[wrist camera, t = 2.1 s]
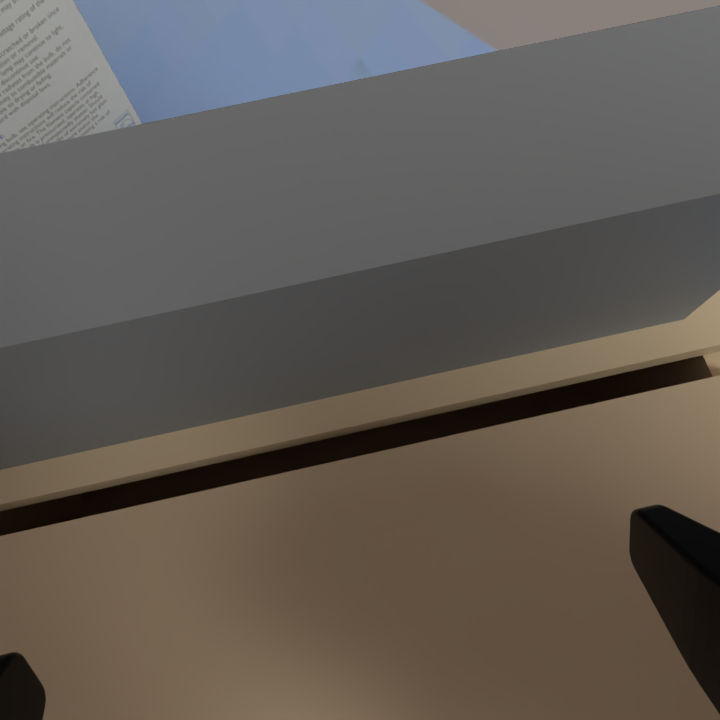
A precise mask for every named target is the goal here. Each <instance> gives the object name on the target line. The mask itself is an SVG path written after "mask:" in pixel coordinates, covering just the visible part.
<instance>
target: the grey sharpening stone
mask: <svg viewBox="0 0 720 720" xmlns="http://www.w3.org/2000/svg"><path fill="white" fill-rule="evenodd" d="M715 352H720V6H715V7H710V8H705V9H701V10H695V11H691V12H685V13H681V14H676V15H671V16H666V17H661V18H656V19H651V20H646V21H642V22H637V23H632V24H627V25H622V26H617V27H612V28H607V29H603V30H598V31H593V32H588V33H583V34H578V35H574V36H569V37H564V38H559V39H554V40H550V41H544V42H539V43H534V44H530V45H525V46H520V47H515V48H510V49H506V50H500V51H495V52H491V53H486V54H481V55H476V56H471V57H466V58H461V59H456V60H452V61H447V62H442V63H437V64H432V65H427V66H422V67H418V68H413V69H408V70H403V71H398V72H393V73H388V74H383V75H379V76H374V77H369V78H364V79H359V80H354V81H349V82H344V83H340V84H335V85H330V86H325V87H320V88H315V89H310V90H306V91H301V92H296V93H291V94H286V95H281V96H276V97H271V98H267V99H262V100H257V101H252V102H247V103H242V104H237V105H232V106H228V107H223V108H218V109H213V110H208V111H203V112H198V113H194V114H189V115H184V116H179V117H174V118H169V119H164V120H159V121H155V122H150V123H145V124H140V125H135V126H130V127H125V128H120V129H116V130H111V131H106V132H101V133H96V134H91V135H86V136H81V137H77V138H72V139H67V140H62V141H57V142H52V143H47V144H43V145H38V146H33V147H28V148H23V149H18V150H13V151H8V152H4V153H0V511H4V510H8V509H13V508H17V507H22V506H26V505H31V504H35V503H40V502H44V501H49V500H53V499H58V498H62V497H67V496H71V495H76V494H80V493H85V492H89V491H94V490H98V489H103V488H107V487H112V486H116V485H121V484H125V483H130V482H134V481H139V480H143V479H148V478H152V477H157V476H161V475H166V474H170V473H175V472H179V471H184V470H188V469H193V468H197V467H202V466H206V465H211V464H215V463H220V462H224V461H229V460H233V459H238V458H242V457H247V456H251V455H256V454H260V453H265V452H269V451H274V450H278V449H283V448H287V447H292V446H296V445H301V444H305V443H310V442H314V441H319V440H323V439H328V438H332V437H337V436H341V435H346V434H350V433H355V432H359V431H364V430H369V429H373V428H378V427H382V426H387V425H391V424H396V423H400V422H405V421H409V420H414V419H418V418H423V417H427V416H432V415H436V414H441V413H445V412H450V411H454V410H459V409H463V408H468V407H472V406H477V405H481V404H486V403H490V402H495V401H499V400H504V399H508V398H513V397H517V396H522V395H526V394H531V393H535V392H540V391H544V390H549V389H553V388H558V387H562V386H567V385H571V384H576V383H580V382H585V381H589V380H594V379H598V378H603V377H607V376H612V375H616V374H621V373H625V372H630V371H634V370H639V369H643V368H648V367H652V366H657V365H661V364H666V363H670V362H675V361H679V360H684V359H688V358H693V357H697V356H702V355H706V354H711V353H715Z"/></svg>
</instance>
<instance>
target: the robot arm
mask: <svg viewBox="0 0 720 720" xmlns="http://www.w3.org/2000/svg"><path fill="white" fill-rule="evenodd" d="M629 553H630V558H631V562H632V564H633V566H634V569H635V570H636V572H637V574H638V576H639V578H640V580H641V582H642V583H643V585H644V587H645V589H646V591H647V593H648V594H649V596H650V598H651V600H652V602H653V604H654V606H655V607H656V609H657V611H658V613H659V615H660V617H661V618H662V620H663V622H664V624H665V626H666V628H667V630H668V631H669V633H670V635H671V637H672V639H673V641H674V642H675V644H676V646H677V648H678V650H679V652H680V653H681V655H682V657H683V659H684V660H685V662H686V664H687V666H688V667H689V669H690V671H691V672H692V674H693V675H694V677H695V678H696V680H697V681H698V683H699V685H700V686H701V688H702V689H703V691H704V692H705V694H706V695H707V696H708V698H709V699H710V701H711V702H712V704H713V705H714V707H715V708H716V710H717V711H718V713H719V714H720V532H718V531H716V530H714V529H711V528H709V527H707V526H705V525H703V524H701V523H699V522H697V521H695V520H693V519H691V518H689V517H687V516H685V515H683V514H681V513H679V512H676V511H674V510H672V509H670V508H668V507H666V506H663V505H660V504H656V505H651V506H647V507H642V508H638V509H635V510H633V511H632V513H631V516H630V537H629ZM45 704H46V694H45V690H44V687H43V685H42V683H41V682H40V680H39V678H38V677H37V675H36V674H35V672H34V671H33V669H32V668H31V666H30V665H29V663H28V662H27V660H26V659H25V657H24V656H23V655H22V654H20V653H18V652H11V653H7V654H3V655H0V720H43V716H44V710H45Z"/></svg>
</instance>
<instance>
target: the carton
mask: <svg viewBox="0 0 720 720" xmlns="http://www.w3.org/2000/svg"><path fill="white" fill-rule="evenodd" d="M656 504H660V505H663V506H666V507H668V508H670V509H672V510H674V511H676V512H679V513H681V514H683V515H685V516H687V517H689V518H691V519H693V520H695V521H697V522H699V523H701V524H703V525H705V526H707V527H709V528H711V529H714V530H716V531H718V532H720V352H715V353H711V354H706V355H702V356H697V357H693V358H688V359H684V360H679V361H675V362H670V363H666V364H661V365H657V366H652V367H648V368H643V369H639V370H634V371H630V372H625V373H621V374H616V375H612V376H607V377H603V378H598V379H594V380H589V381H585V382H580V383H576V384H571V385H567V386H562V387H558V388H553V389H549V390H544V391H540V392H535V393H531V394H526V395H522V396H517V397H513V398H508V399H504V400H499V401H495V402H490V403H486V404H481V405H477V406H472V407H468V408H463V409H459V410H454V411H450V412H445V413H441V414H436V415H432V416H427V417H423V418H418V419H414V420H409V421H405V422H400V423H396V424H391V425H387V426H382V427H378V428H373V429H369V430H364V431H359V432H355V433H350V434H346V435H341V436H337V437H332V438H328V439H323V440H319V441H314V442H310V443H305V444H301V445H296V446H292V447H287V448H283V449H278V450H274V451H269V452H265V453H260V454H256V455H251V456H247V457H242V458H238V459H233V460H229V461H224V462H220V463H215V464H211V465H206V466H202V467H197V468H193V469H188V470H184V471H179V472H175V473H170V474H166V475H161V476H157V477H152V478H148V479H143V480H139V481H134V482H130V483H125V484H121V485H116V486H112V487H107V488H103V489H98V490H94V491H89V492H85V493H80V494H76V495H71V496H67V497H62V498H58V499H53V500H49V501H44V502H40V503H35V504H31V505H26V506H22V507H17V508H13V509H8V510H4V511H0V655H3V654H7V653H11V652H18V653H20V654H22V655H23V656H24V657H25V659H26V660H27V662H28V663H29V665H30V666H31V668H32V669H33V671H34V672H35V674H36V675H37V677H38V678H39V680H40V682H41V683H42V685H43V687H44V690H45V694H46V704H45V710H44V716H43V720H720V714H719V713H718V711H717V710H716V708H715V707H714V705H713V704H712V702H711V701H710V699H709V698H708V696H707V695H706V694H705V692H704V691H703V689H702V688H701V686H700V685H699V683H698V681H697V680H696V678H695V677H694V675H693V674H692V672H691V671H690V669H689V667H688V666H687V664H686V662H685V660H684V659H683V657H682V655H681V653H680V652H679V650H678V648H677V646H676V644H675V642H674V641H673V639H672V637H671V635H670V633H669V631H668V630H667V628H666V626H665V624H664V622H663V620H662V618H661V617H660V615H659V613H658V611H657V609H656V607H655V606H654V604H653V602H652V600H651V598H650V596H649V594H648V593H647V591H646V589H645V587H644V585H643V583H642V582H641V580H640V578H639V576H638V574H637V572H636V570H635V569H634V566H633V564H632V562H631V558H630V553H629V537H630V516H631V513H632V511H633V510H635V509H638V508H642V507H647V506H651V505H656Z"/></svg>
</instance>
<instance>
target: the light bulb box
mask: <svg viewBox="0 0 720 720" xmlns="http://www.w3.org/2000/svg"><path fill="white" fill-rule="evenodd" d="M140 124H142V122H141V120H140V119H139V117H138V115H137V113H136V111H135V110H134V108H133V106H132V104H131V103H130V101H129V99H128V97H127V96H126V94H125V92H124V90H123V88H122V87H121V85H120V83H119V82H118V80H117V78H116V76H115V74H114V72H113V71H112V69H111V67H110V65H109V63H108V62H107V60H106V58H105V56H104V55H103V53H102V51H101V49H100V47H99V46H98V44H97V42H96V40H95V38H94V37H93V35H92V33H91V31H90V29H89V28H88V26H87V24H86V22H85V20H84V19H83V17H82V15H81V13H80V11H79V9H78V8H77V6H76V4H75V2H74V0H0V153H4V152H8V151H13V150H18V149H23V148H28V147H33V146H38V145H43V144H47V143H52V142H57V141H62V140H67V139H72V138H77V137H81V136H86V135H91V134H96V133H101V132H106V131H111V130H116V129H120V128H125V127H130V126H135V125H140Z"/></svg>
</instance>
